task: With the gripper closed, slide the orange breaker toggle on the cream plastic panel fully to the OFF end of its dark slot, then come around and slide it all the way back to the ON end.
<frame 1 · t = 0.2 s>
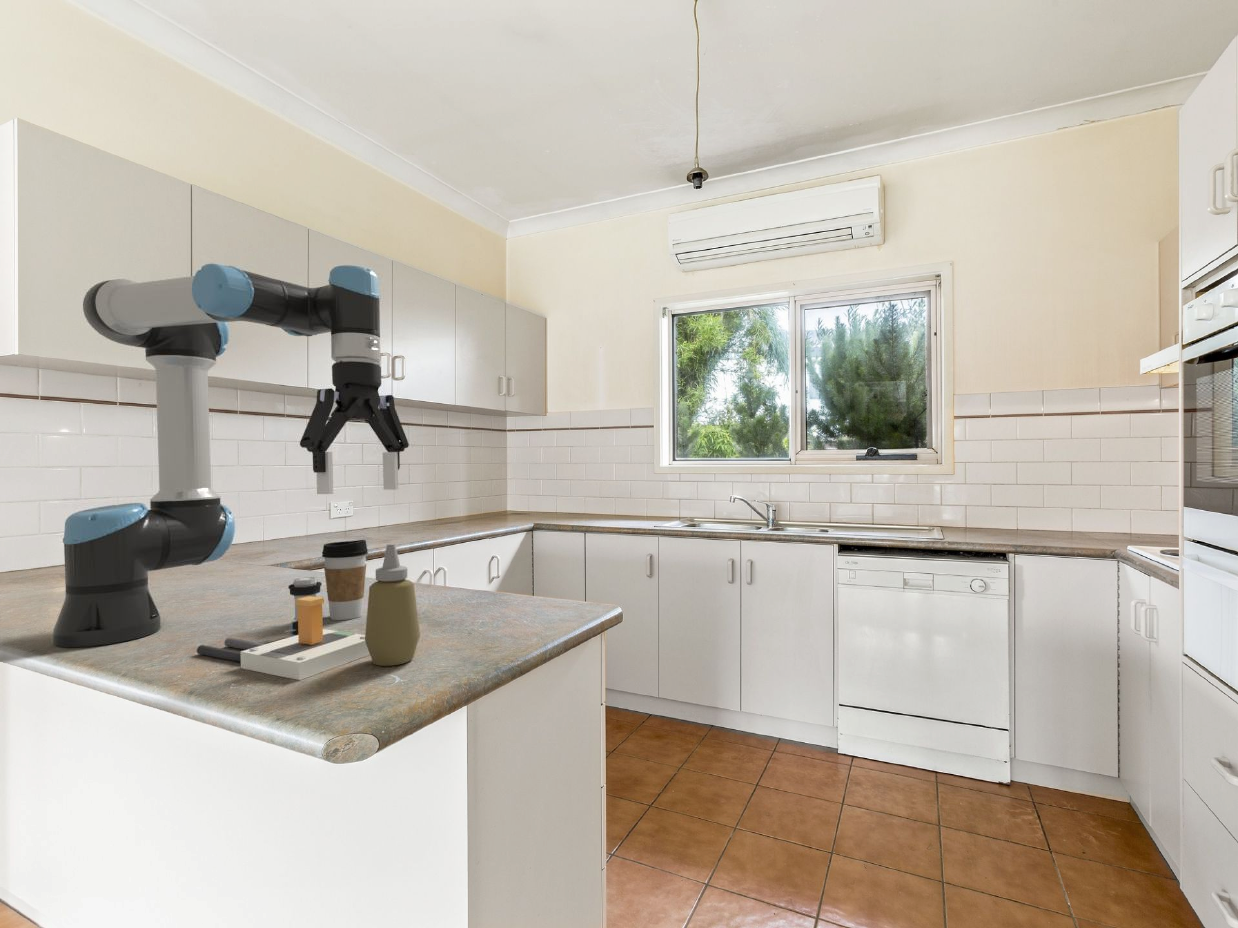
hand: (360, 491, 105), 26 cm above the countertop, fingers open, 13 cm apart
push button: (302, 636, 113), on the countertop
coffee cup: (346, 617, 127), on the countertop
lever: (310, 620, 99), point 6 cm above the countertop, slide at 0.0 cm
cord b: (251, 650, 105), on the countertop
squeeze bottle: (393, 662, 98), on the countertop
panel: (311, 659, 99), on the countertop
cord a: (224, 658, 101), on the countertop
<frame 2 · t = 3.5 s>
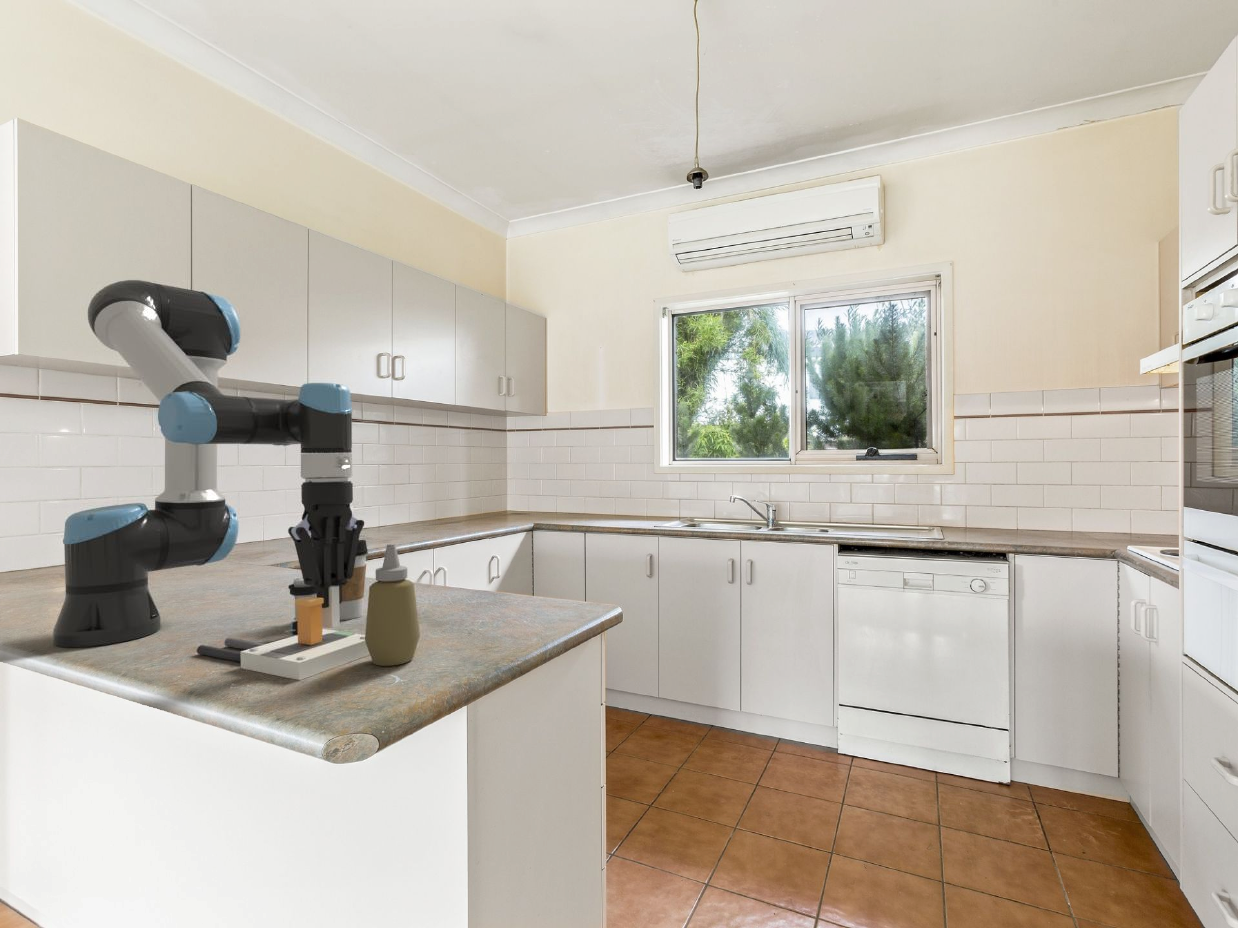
hand: (329, 626, 103), 4 cm above the countertop, fingers closed
lever: (309, 620, 99), point 6 cm above the countertop, slide at -0.1 cm, touching gripper
everything else where it was.
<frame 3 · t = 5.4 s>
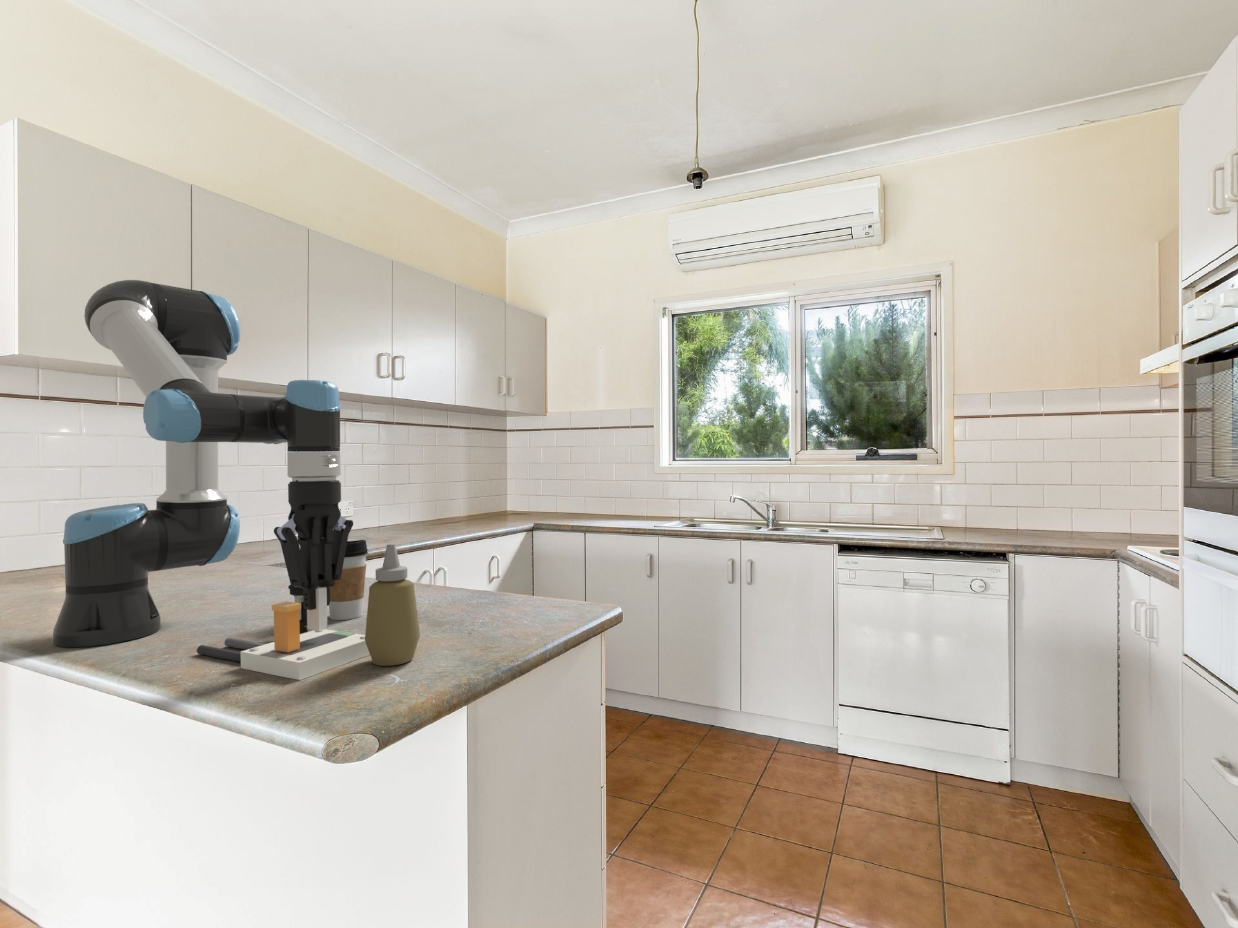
hand: (317, 628, 100), 5 cm above the countertop, fingers closed
lever: (286, 626, 96), point 6 cm above the countertop, slide at -4.1 cm
everything else where it was.
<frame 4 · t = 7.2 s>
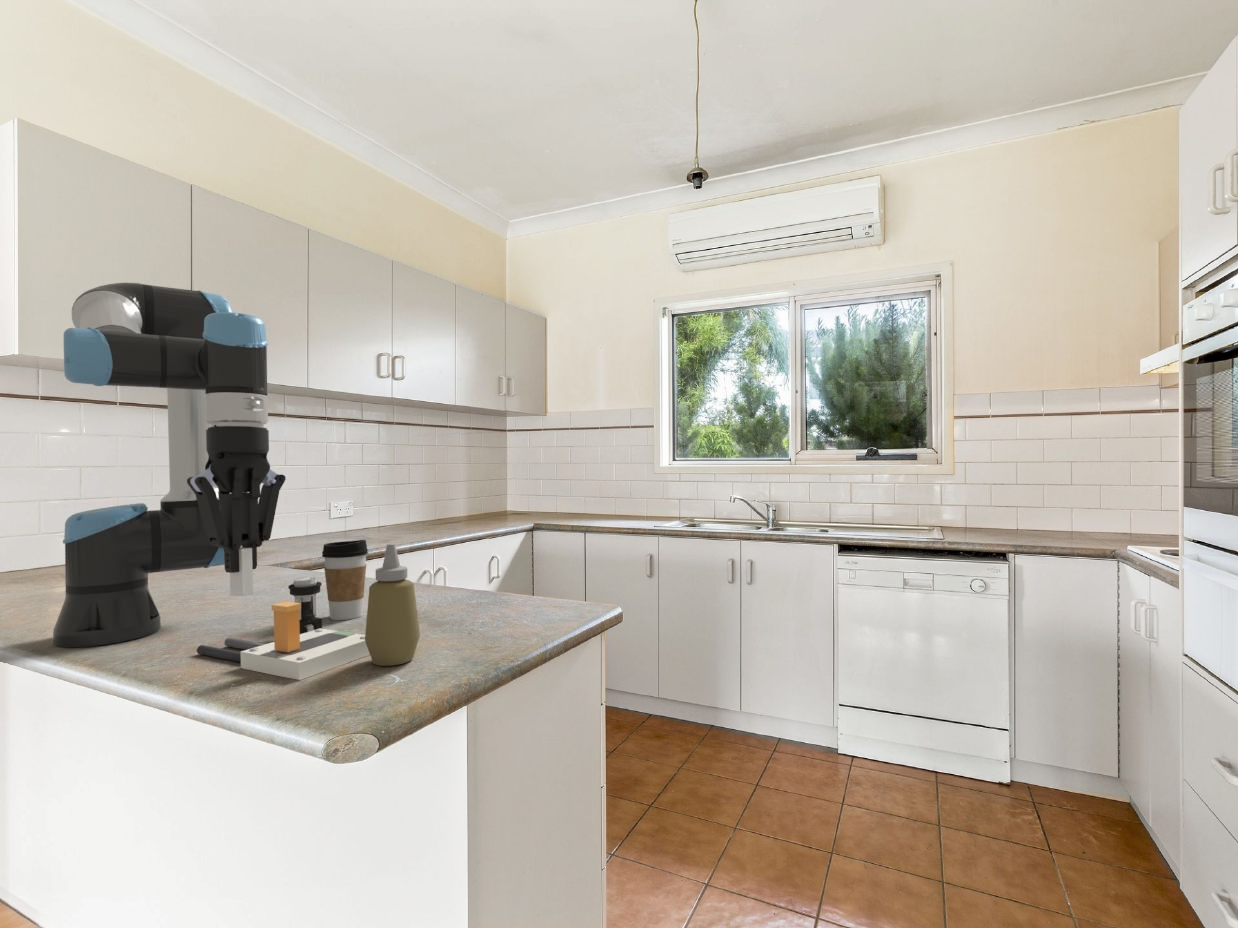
hand: (241, 594, 89), 13 cm above the countertop, fingers closed
nothing on the countertop moved.
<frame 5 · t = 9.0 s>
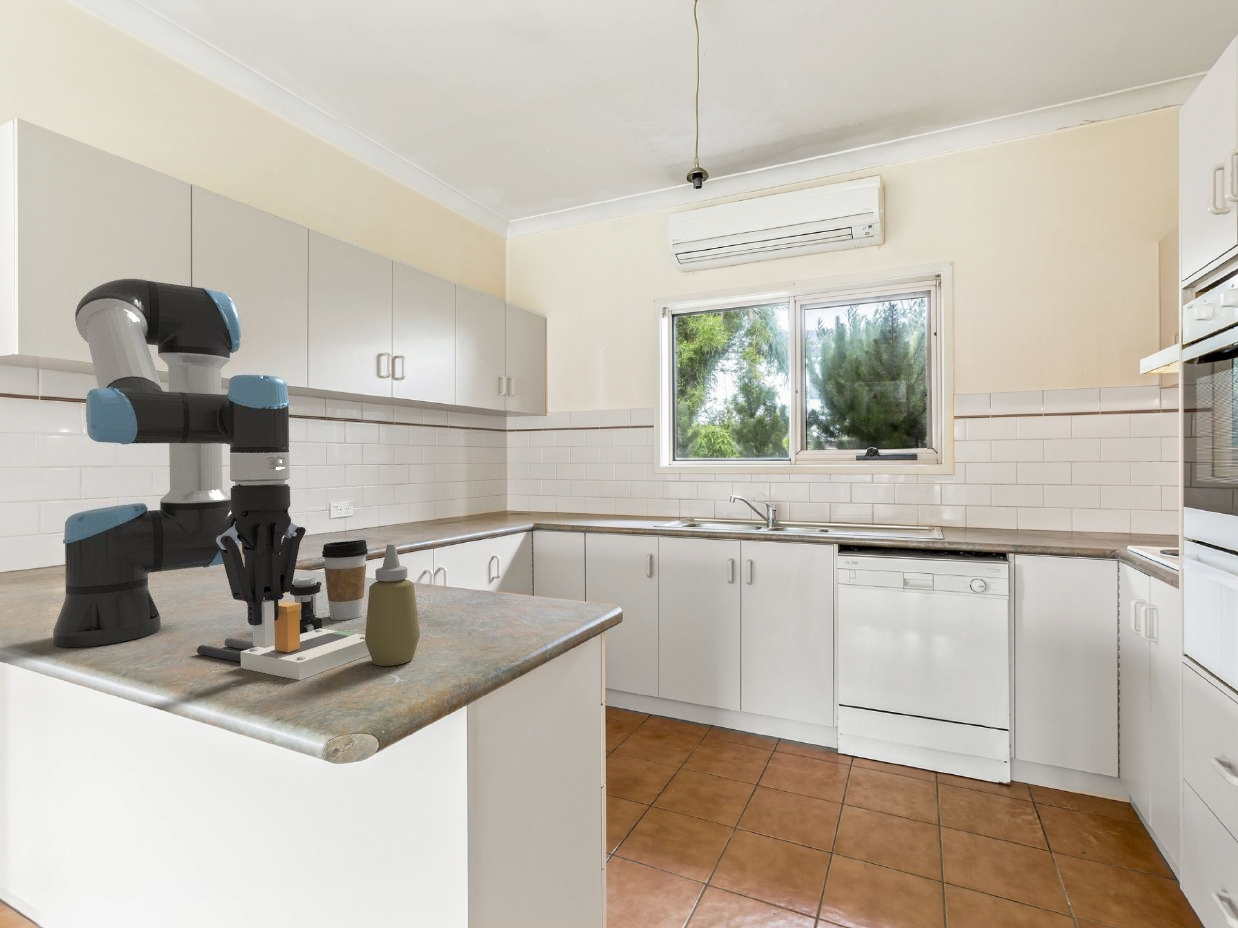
hand: (264, 645, 92), 4 cm above the countertop, fingers closed
lever: (287, 626, 96), point 6 cm above the countertop, slide at -4.0 cm, touching gripper
everything else where it was.
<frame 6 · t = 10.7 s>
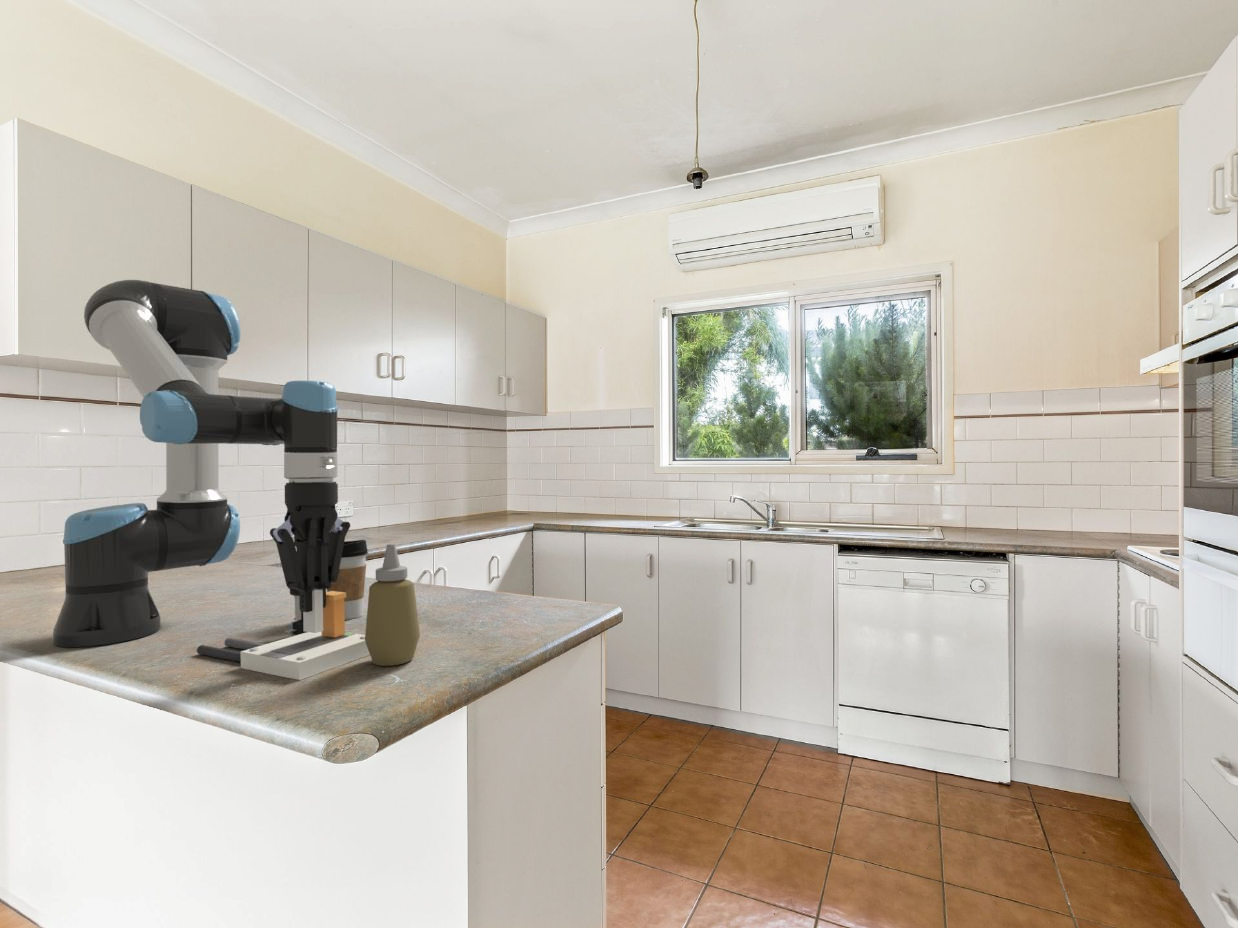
hand: (313, 630, 100), 4 cm above the countertop, fingers closed
lever: (332, 614, 103), point 6 cm above the countertop, slide at 4.2 cm, touching gripper
everything else where it was.
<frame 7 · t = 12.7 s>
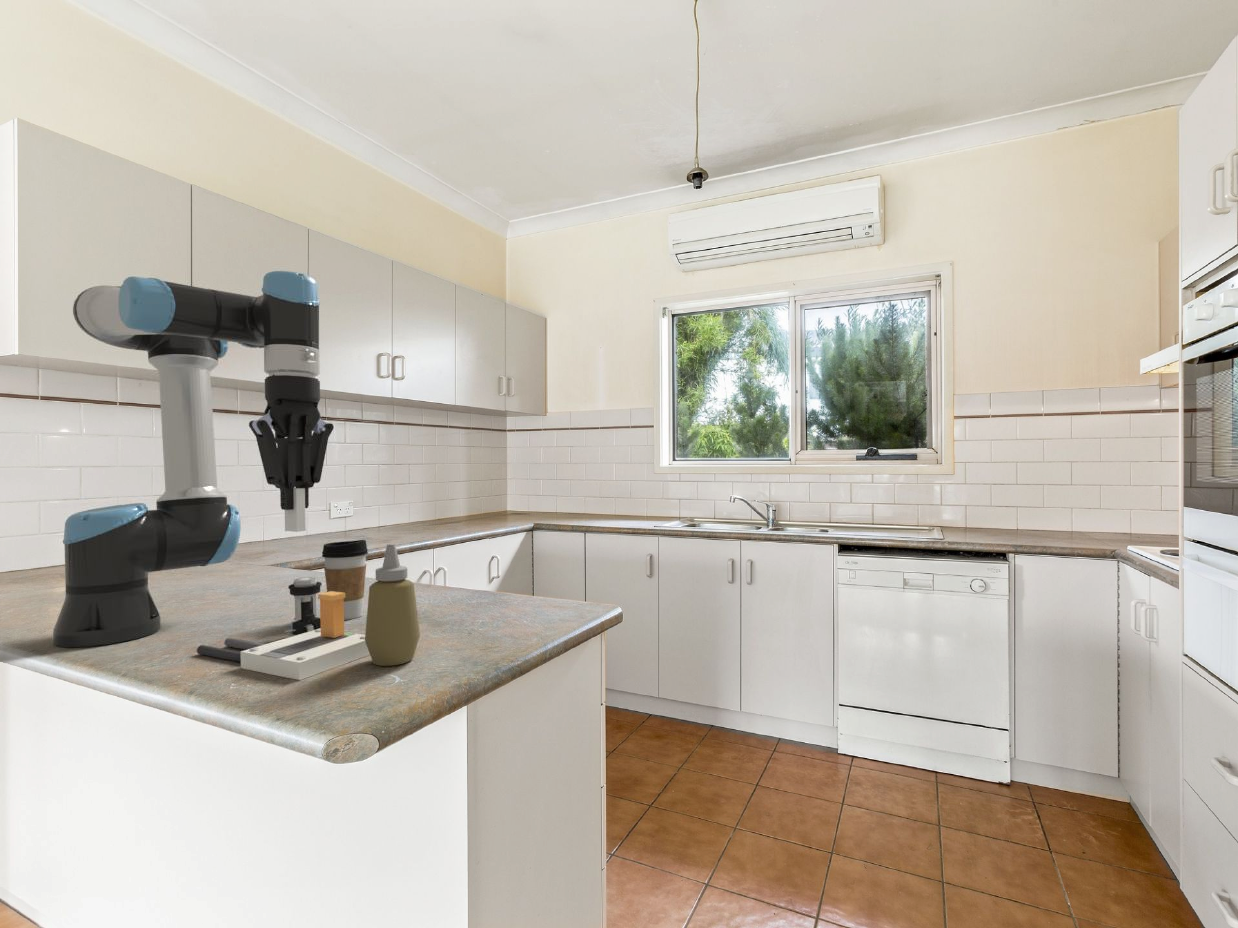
hand: (295, 530, 98), 20 cm above the countertop, fingers closed
lever: (332, 614, 103), point 6 cm above the countertop, slide at 4.1 cm
everything else where it was.
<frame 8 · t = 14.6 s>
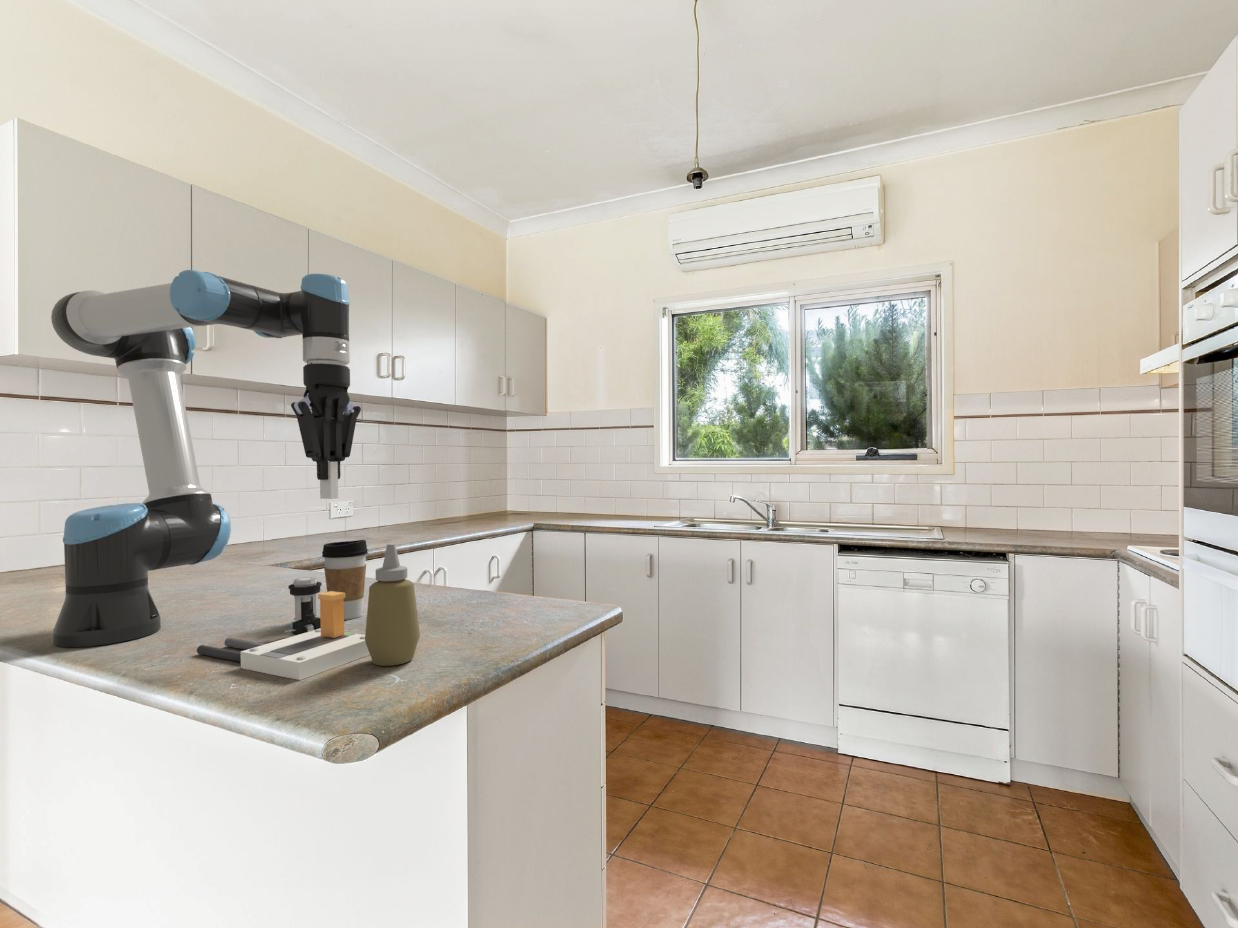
hand: (329, 498, 113), 24 cm above the countertop, fingers closed
nothing on the countertop moved.
at the end: lever slide at 4.1 cm; lever touching nothing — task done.
